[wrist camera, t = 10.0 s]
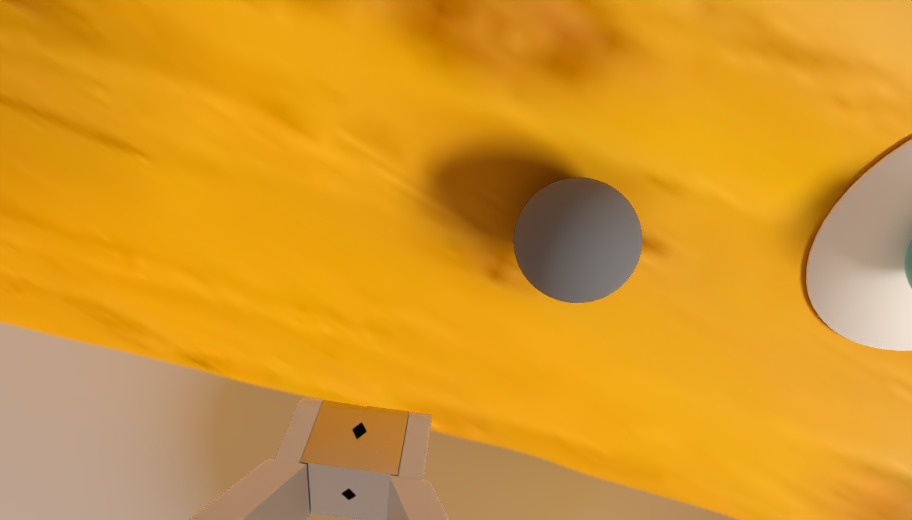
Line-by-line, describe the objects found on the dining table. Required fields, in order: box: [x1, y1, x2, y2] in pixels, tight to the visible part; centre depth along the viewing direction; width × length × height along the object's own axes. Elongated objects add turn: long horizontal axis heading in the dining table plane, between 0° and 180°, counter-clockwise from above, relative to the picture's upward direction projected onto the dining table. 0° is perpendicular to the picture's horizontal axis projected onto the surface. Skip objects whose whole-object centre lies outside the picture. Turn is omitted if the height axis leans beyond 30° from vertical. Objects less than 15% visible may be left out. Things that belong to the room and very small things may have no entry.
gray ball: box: [513, 178, 642, 303], centre depth 23 cm, size 6×6×6 cm
